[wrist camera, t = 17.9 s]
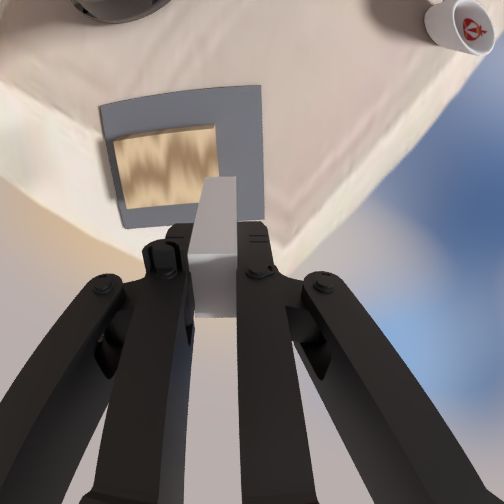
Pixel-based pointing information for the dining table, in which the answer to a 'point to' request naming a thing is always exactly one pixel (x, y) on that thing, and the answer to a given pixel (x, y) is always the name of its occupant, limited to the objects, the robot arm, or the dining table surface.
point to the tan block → (166, 165)
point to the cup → (461, 26)
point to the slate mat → (195, 114)
